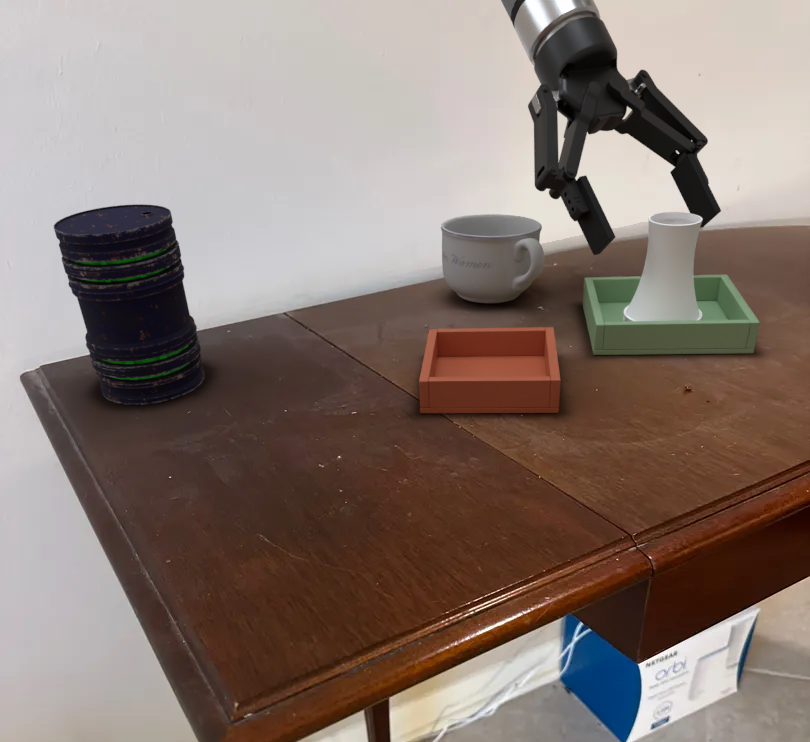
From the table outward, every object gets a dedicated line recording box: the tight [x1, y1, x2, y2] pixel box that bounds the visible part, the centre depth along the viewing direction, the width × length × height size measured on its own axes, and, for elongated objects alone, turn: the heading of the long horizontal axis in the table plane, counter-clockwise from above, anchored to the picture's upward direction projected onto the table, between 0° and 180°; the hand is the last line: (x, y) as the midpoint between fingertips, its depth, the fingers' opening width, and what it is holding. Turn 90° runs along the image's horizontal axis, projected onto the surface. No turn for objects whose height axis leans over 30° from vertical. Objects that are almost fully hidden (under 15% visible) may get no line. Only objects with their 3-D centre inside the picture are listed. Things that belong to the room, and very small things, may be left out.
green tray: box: [582, 274, 761, 356], centre depth 81 cm, size 15×14×3 cm
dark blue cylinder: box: [53, 204, 206, 406], centre depth 73 cm, size 10×10×15 cm
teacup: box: [440, 213, 545, 304], centre depth 88 cm, size 14×11×8 cm
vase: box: [623, 211, 703, 321], centre depth 79 cm, size 8×8×10 cm
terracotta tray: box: [418, 326, 562, 414], centre depth 72 cm, size 12×12×3 cm
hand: (658, 233), depth 78 cm, fingers open, 13 cm apart
